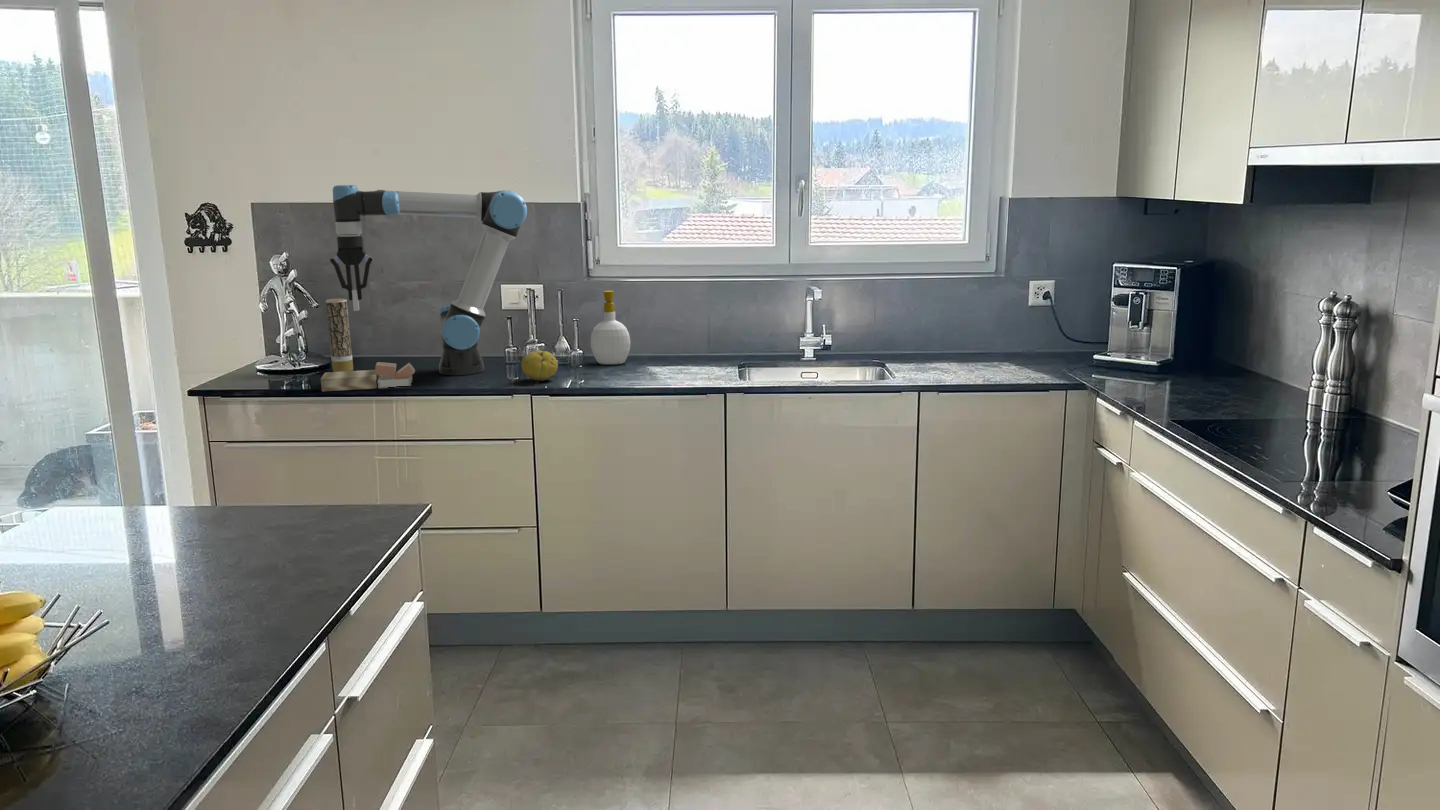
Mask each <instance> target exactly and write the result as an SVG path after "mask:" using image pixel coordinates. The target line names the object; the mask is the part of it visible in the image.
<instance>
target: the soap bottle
mask: <svg viewBox="0 0 1440 810" xmlns="http://www.w3.org/2000/svg"><path fill="white" fill-rule="evenodd" d="M614 294H615V291H614V290H604V291H603V296H604V301H605V302H604V303H603V309H604V311H603V320H602V321H600V322H599V323H597V324H596V325H595V326H594V327H593V330H592V331H591V334H590V342H589V343H590V349H591V352H592V354H593V356H594V358H595V360H596V362H597V363H598V364H599V365H603V366H604V365H608V366H609V365H610V366H611V365H622V364H624V363H625V362H626V360H627V358H628V356H629V353H630V350H631V336H630V332H629V331H628V329H627V326H625V325H624V324H623V323H622V322H620V321H618V320H616V311H615V302H613V301H614Z"/></svg>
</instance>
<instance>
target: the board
mask: <svg viewBox="0 0 1440 810" xmlns="http://www.w3.org/2000/svg"><path fill="white" fill-rule="evenodd" d="M379 376H380V375H376V374H375V369H366V370H364V369H363V370H353V371H343V372H333V371H328V372H324V373H323V375H322V376H321V378H320V385H321V391H322V392H333V391H334V392H335V391H336V392H337V391H350V390H351V391H352V390H371V389H377V388H378V378H379Z"/></svg>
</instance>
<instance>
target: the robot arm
mask: <svg viewBox="0 0 1440 810" xmlns="http://www.w3.org/2000/svg"><path fill="white" fill-rule="evenodd" d="M332 201H333V211H334V212H333V213H334V219H335V220H334V224H335V232H336V235H337V237H336V242H337V243H336V244H337V252H336V255H335V256H334V257H332V258H330V260H329V261H330V263H331V264H332V265H333V267H334V269H335V273H336V275H337V278H338V281H339V283H340V286H341V288H342V289H343V290H344V289H345V290H347V291H348V300H349V301H352V306H353V312H358V311H360V301H361V300H362V299H363V295H362V294H363V292H362V289H364V288H366V287H367V286H368V280H369V273H370V268H371V264H372V262H373V260H374V257H372V256H370V255H367V253H366V251H365V250H364V242H363V240H364V239H363V236H362V233H363V229H362V221H361V220H362V218H361V216H364V217H366V216H397V215H402V216H404V215H405V216H422V217H423V216H424V217H425V216H427V217H428V216H429V217H444V218H446V217H448V218H467V219H468V218H470V219H477V220H478V221H479V222H482V223H481V226H482V228H483V230H484V231H483V232H482V233H483V234H482V236H481V238H480V242H479V244H478V247H477V248H476V252H475V255H474V257H473V259H472V262H471V264H470V267H469V270H468V272H467V275H466V277H465V279H464V283H463V285H462V289H461V291H460V293H459V296H458V298H457V299H455V300H453V301H451V303H450V305H443V306H441V307H440V308H439V317H440V327H441V329H440V330H441V331H440V332H441V341H442V353H441V357H440V359H439V360H440V361H439V365H438V372H439V374H440V375H445V376H466V375H467V376H468V375H469V376H470V375H475V374H479V373H482V372H484V371H485V365H484V361H483V358H482V355H481V353H480V350H479V348H478V341H479V340H480V339H479V338H480V333H481V329H482V326H483V324H484V321H485V318H486V316H487V315H486V313H485V311H484V310H485V309H484V308H485V305H486V302H487V300H488V297H489V295H490V293H491V290H492V287H493V285H494V282H495V279H496V277H497V274H498V272H499V270H500V267H501V264H502V261H503V258H504V256H505V254H506V251H507V249H508V245H509V243H510V242H511V241H513V240H515V239H516V238H517V237H518V234H519V231H520V229H521V226H522V224H524V222H525V221H526V220H527V219H526V218H527V215H528V207H527V204H526V201H525V200H524V198H523V197H522V196H521V195H520V194H518V193H517V192H515V191H512V190H509V189H508V190H498V191H491V192H487V191H486V192H485V191H484V192H483V191H482V192H481V191H479V192H478V193H477V194H463V193H462V194H461V193H460V194H459V193H443V192H441V193H440V192H421V191H403V190H402V191H401V190H399V191H396V190H385V189H377V190H373V191H372V190H371V191H370V190H369V191H363V190H362V191H361V190H359V189H358V185H356V184H349V185H348V184H346V185H345V184H341V185H340V184H339V185H334V186H333V187H332ZM363 260H364V262H365V265H364V273H363V279H362V282H361V272H360V264H361V263H362V261H363ZM340 261H341V262H342V263H343V265H345V266H344V267H345V272H346V280H345V278H344V276H343V272H342V270H341V267H340V265H339V263H340ZM352 266H353V267H354V276H355V285H356V286H355V287H356V288H355V289H353V278H352ZM346 283H347V284H346Z"/></svg>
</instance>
